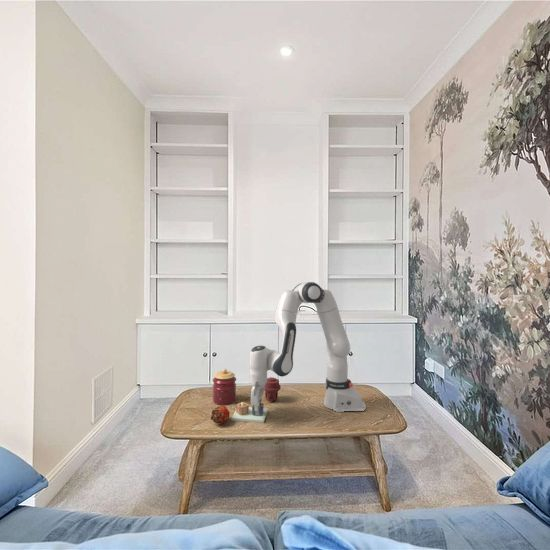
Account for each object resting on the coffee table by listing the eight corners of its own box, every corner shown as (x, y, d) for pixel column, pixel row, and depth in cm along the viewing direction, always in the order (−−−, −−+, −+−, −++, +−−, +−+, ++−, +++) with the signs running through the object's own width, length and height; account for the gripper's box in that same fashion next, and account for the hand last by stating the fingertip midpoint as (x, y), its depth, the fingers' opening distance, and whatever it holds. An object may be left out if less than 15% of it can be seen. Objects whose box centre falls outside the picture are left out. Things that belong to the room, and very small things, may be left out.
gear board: (267, 410, 169) (267, 399, 169) (263, 422, 156) (263, 410, 156) (237, 408, 171) (237, 396, 171) (231, 420, 159) (231, 407, 158)
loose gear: (263, 411, 166) (263, 402, 165) (262, 416, 161) (262, 407, 160) (254, 410, 166) (254, 402, 166) (252, 415, 161) (252, 406, 161)
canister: (208, 403, 178) (208, 371, 177) (219, 394, 190) (219, 364, 189) (229, 406, 174) (229, 374, 173) (239, 397, 186) (240, 366, 185)
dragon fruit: (216, 432, 150) (220, 423, 162) (231, 421, 151) (234, 412, 163) (206, 416, 151) (210, 409, 163) (221, 405, 152) (224, 398, 164)
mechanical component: (280, 396, 187) (280, 404, 177) (263, 396, 187) (262, 403, 177) (280, 375, 187) (280, 382, 177) (263, 375, 187) (262, 381, 177)
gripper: (260, 387, 152) (260, 416, 152) (267, 372, 172) (267, 398, 173) (247, 386, 153) (247, 415, 153) (255, 371, 173) (255, 397, 174)
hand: (258, 406), depth 163 cm, fingers open, 8 cm apart
